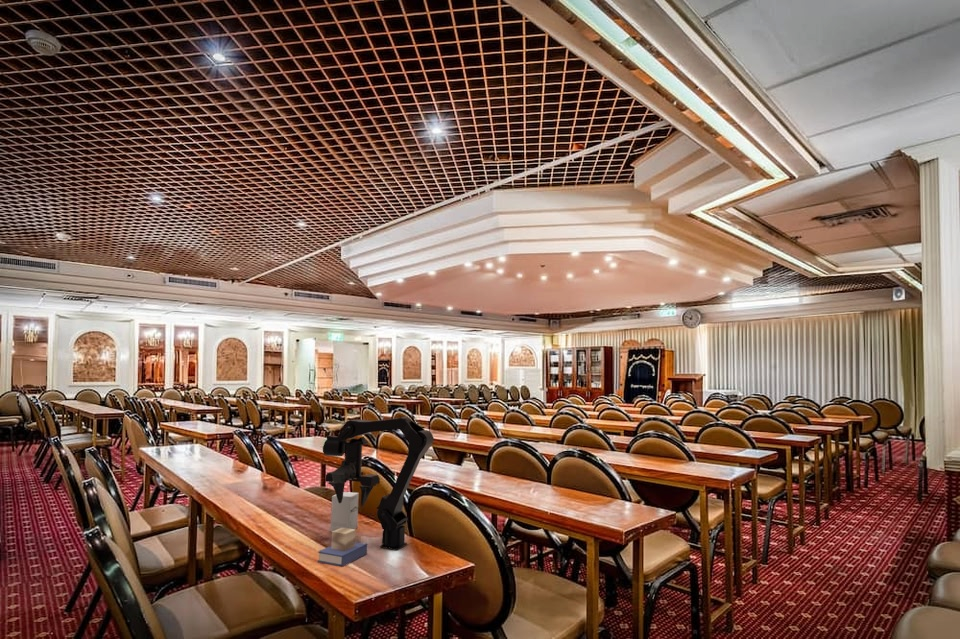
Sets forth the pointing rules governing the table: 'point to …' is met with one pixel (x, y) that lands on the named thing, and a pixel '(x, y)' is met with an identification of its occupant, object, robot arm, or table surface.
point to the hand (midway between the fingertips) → (351, 504)
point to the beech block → (343, 539)
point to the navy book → (342, 555)
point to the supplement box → (344, 511)
